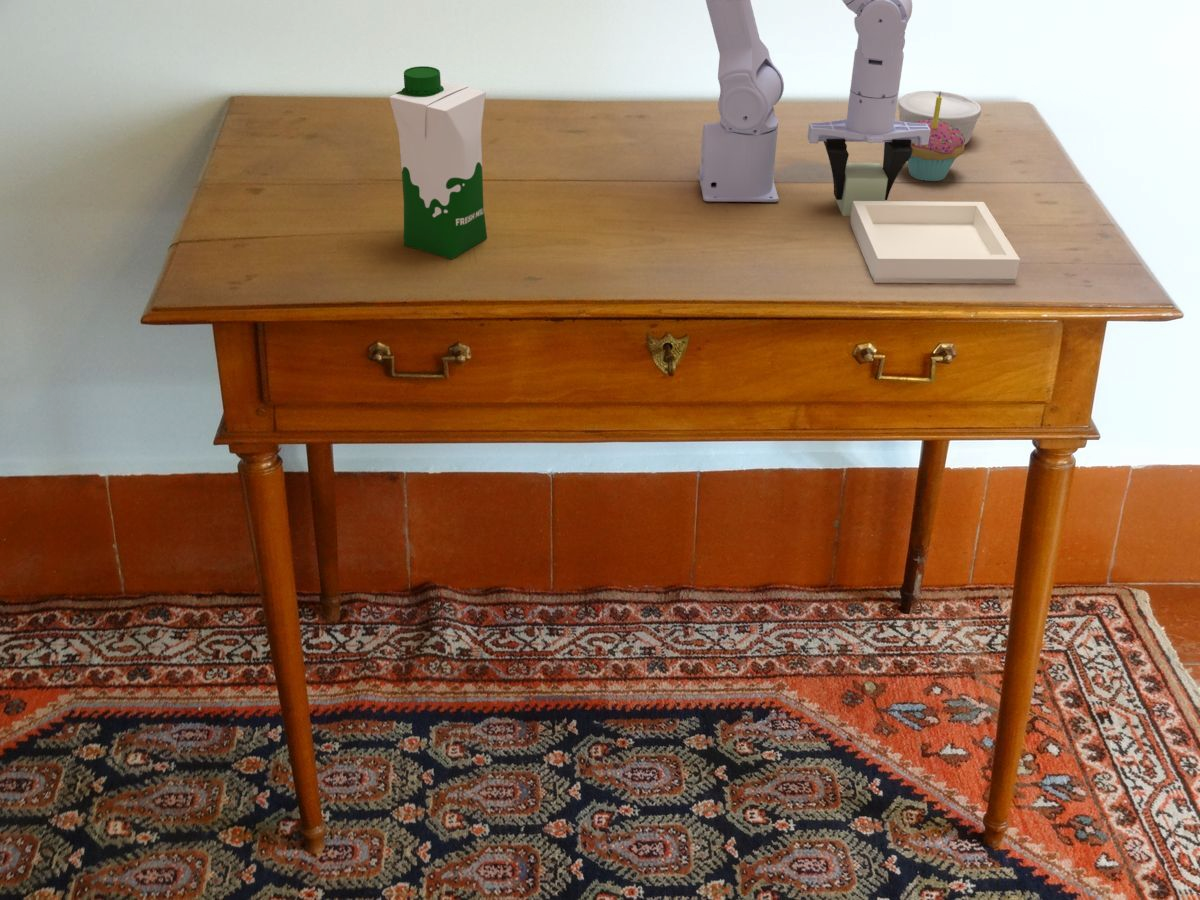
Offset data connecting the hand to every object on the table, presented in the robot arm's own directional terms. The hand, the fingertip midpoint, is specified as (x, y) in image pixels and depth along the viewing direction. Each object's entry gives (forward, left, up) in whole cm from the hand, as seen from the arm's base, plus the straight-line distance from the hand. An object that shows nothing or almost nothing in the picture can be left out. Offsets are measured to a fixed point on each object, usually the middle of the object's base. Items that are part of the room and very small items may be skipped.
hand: (860, 196), depth 169 cm
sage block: (0, 0, -2) cm, 2 cm away
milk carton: (-51, -11, -2) cm, 52 cm away
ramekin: (+15, +24, -2) cm, 28 cm away
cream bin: (+6, -13, -1) cm, 14 cm away
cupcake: (+11, +11, -2) cm, 16 cm away
